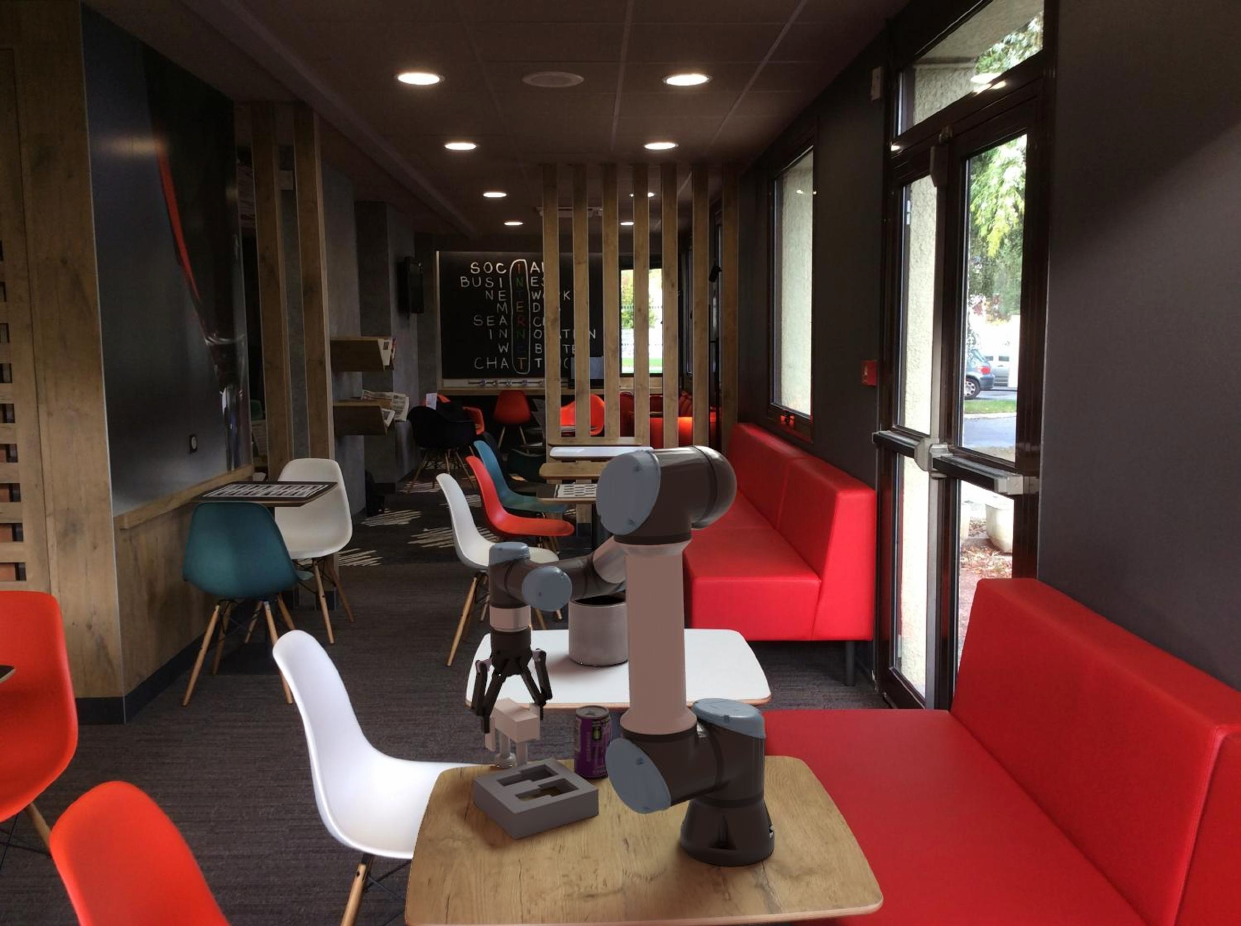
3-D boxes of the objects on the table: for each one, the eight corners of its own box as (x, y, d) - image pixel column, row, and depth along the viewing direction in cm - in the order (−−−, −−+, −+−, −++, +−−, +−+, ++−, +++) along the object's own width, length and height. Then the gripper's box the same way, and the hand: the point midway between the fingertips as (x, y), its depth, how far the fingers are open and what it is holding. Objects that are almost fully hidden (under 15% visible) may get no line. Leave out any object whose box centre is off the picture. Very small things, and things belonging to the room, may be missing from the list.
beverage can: (607, 781, 191) (606, 719, 189) (569, 778, 192) (569, 716, 190) (615, 765, 198) (614, 705, 196) (579, 762, 199) (578, 702, 197)
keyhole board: (553, 780, 191) (552, 757, 191) (598, 814, 178) (598, 789, 177) (473, 802, 183) (472, 778, 182) (515, 839, 169) (514, 813, 169)
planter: (566, 649, 269) (566, 590, 267) (628, 646, 271) (628, 588, 269) (570, 669, 253) (569, 607, 251) (636, 666, 255) (635, 604, 253)
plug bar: (539, 778, 192) (538, 716, 190) (517, 784, 190) (516, 721, 188) (509, 756, 202) (508, 697, 200) (488, 762, 200) (487, 701, 198)
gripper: (551, 612, 201) (553, 724, 204) (448, 630, 190) (451, 749, 193) (570, 621, 195) (572, 736, 198) (465, 640, 183) (469, 763, 186)
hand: (513, 742), depth 195 cm, fingers open, 9 cm apart
